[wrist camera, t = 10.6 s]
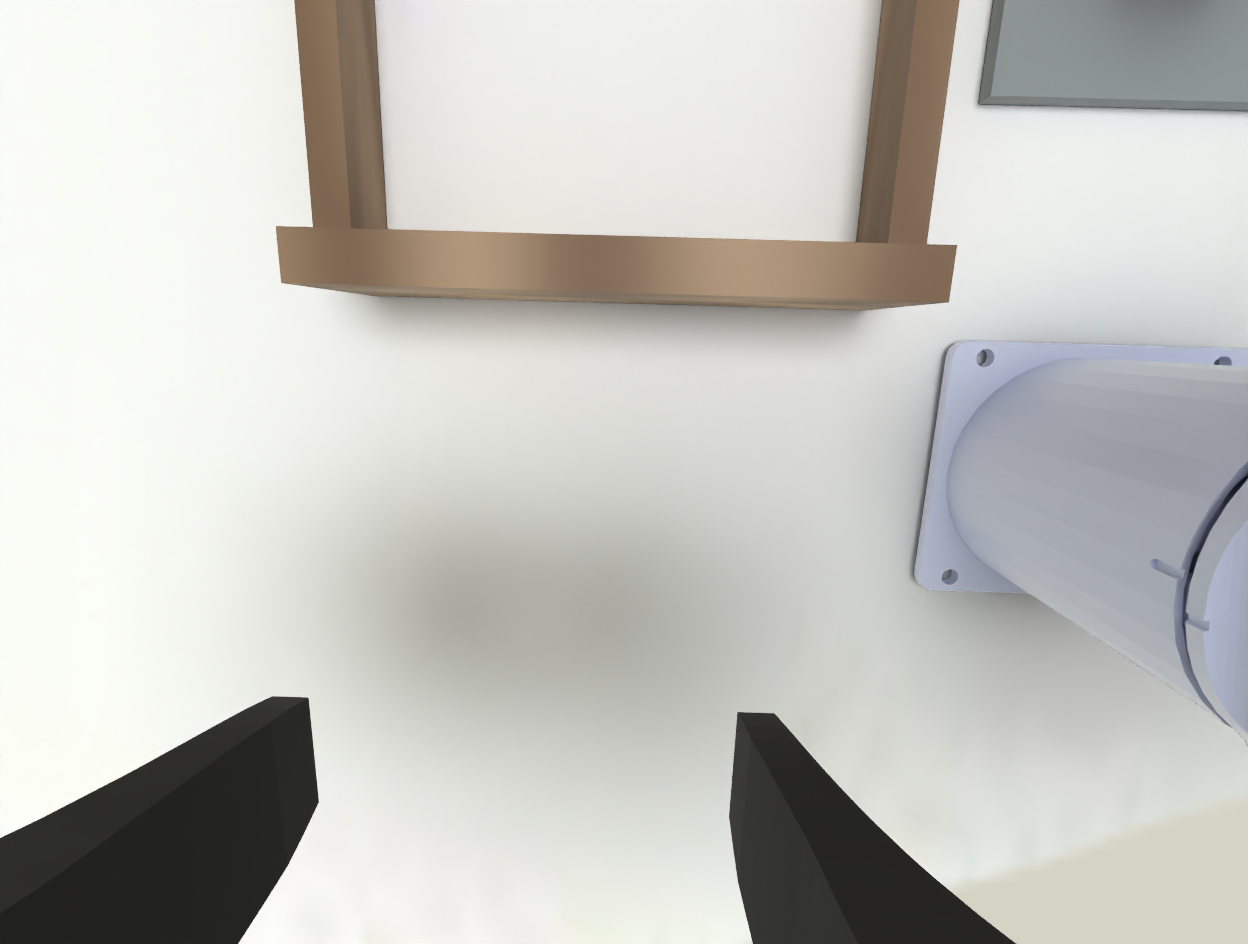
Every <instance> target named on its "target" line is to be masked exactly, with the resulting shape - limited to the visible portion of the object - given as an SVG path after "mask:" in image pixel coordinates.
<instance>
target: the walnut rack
mask: <svg viewBox="0 0 1248 944" xmlns="http://www.w3.org/2000/svg"><path fill="white" fill-rule="evenodd" d="M294 1H295V13H296V25H297V37H298V50H299V62H300V74H301V86H302V98H303V110H304V123H305V135H306V147H307V159H308V171H309V183H310V196H311V208H312V220H313V227H284V226H276V232H277V243H278V253H279V264H280V274H281V283H286V284H293V285H300V286H307V287H314V288H322V289H329V290H336V291H343V292H350V293H357V294H364V295H372V296H394V297H429V298H463V299H497V300H532V301H566V302H600V303H635V304H669V305H703V306H738V307H772V308H806V309H841V310H873V309H883V308H894V307H904V306H914V305H925V304H935V303H945V302H949V297H950V290H951V283H952V276H953V269H954V262H955V255H956V249H957V245H930V244H927V237H928V230H929V222H930V215H931V207H932V200H933V192H934V185H935V178H936V170H937V163H938V155H939V148H940V140H941V133H942V125H943V118H944V111H945V103H946V96H947V88H948V81H949V73H950V66H951V58H952V51H953V44H954V36H955V29H956V21H957V14H958V6H959V0H883V3H882V12H881V21H880V30H879V40H878V49H877V58H876V67H875V76H874V85H873V94H872V104H871V113H870V122H869V131H868V140H867V149H866V158H865V168H864V177H863V186H862V195H861V204H860V213H859V222H858V232H857V241H856V242H822V241H786V240H750V239H715V238H679V237H643V236H607V235H571V234H535V233H499V232H463V231H427V230H391V229H387V221H386V203H385V185H384V167H383V150H382V132H381V114H380V96H379V78H378V61H377V43H376V25H375V7H374V0H294Z"/></svg>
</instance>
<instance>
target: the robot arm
mask: <svg viewBox="0 0 1248 944" xmlns="http://www.w3.org/2000/svg"><path fill="white" fill-rule="evenodd" d="M981 350H984V351H985V352H986V353H987V359H986V361H985V363H983V364H982V365H981V366H979V364H978V363H977V359H976V357H977V355H978V353H979V352H980V351H981ZM1217 359H1219V365H1214V363H1215V361H1216V360H1217ZM951 569H952V574H951V576H950V577H949V578H948V579H945V580H942V575H943V573H944V572H945V571H947V570H951ZM914 576H915V579H916V581H917V582H918V583H919V584H920V585H921V586H922V587H924V588H925V589H928V590H938V591H967V592H996V593H1026V594H1030V595H1032V596H1033V597H1035V598H1036V599H1038V600H1039V601H1041V602H1043V603H1044V604H1046V605H1047V606H1049V607H1050V608H1052V609H1053V610H1055V611H1056V612H1058V613H1059V614H1061V615H1062V616H1064V617H1065V618H1067V619H1068V620H1070V621H1071V622H1073V623H1074V624H1076V625H1077V626H1079V627H1080V628H1082V629H1083V630H1085V631H1086V632H1088V633H1089V634H1091V635H1092V636H1094V637H1095V638H1097V639H1098V640H1100V641H1101V642H1103V643H1104V644H1106V645H1107V646H1109V647H1110V648H1112V649H1113V650H1115V651H1116V652H1118V653H1119V654H1121V655H1122V656H1124V657H1125V658H1127V659H1128V660H1130V661H1131V662H1133V663H1134V664H1136V665H1137V666H1139V667H1140V668H1142V669H1144V670H1145V671H1147V672H1148V673H1150V674H1151V675H1153V676H1154V677H1156V678H1157V679H1159V680H1160V681H1162V682H1163V683H1165V684H1166V685H1168V686H1169V687H1171V688H1172V689H1174V690H1175V691H1177V692H1178V693H1180V694H1181V695H1183V696H1184V697H1186V698H1187V699H1189V700H1190V701H1192V702H1193V703H1195V704H1196V705H1198V706H1199V707H1201V708H1202V709H1204V710H1205V711H1207V712H1208V713H1210V714H1211V715H1213V716H1214V717H1216V718H1217V719H1219V720H1220V721H1222V722H1223V723H1225V724H1227V725H1228V726H1230V727H1232V728H1233V729H1234V730H1235V731H1236V732H1237V733H1238V734H1239V735H1240V736H1241V737H1242V738H1243V739H1244V741H1245V742H1246V744H1247V746H1248V349H1246V348H1212V347H1179V346H1145V345H1111V344H1077V343H1044V342H1010V341H976V340H963V341H958V342H956V343H955V344H953V345H952V346H951V347H950V348H949V350H948V352H947V355H946V359H945V366H944V373H943V380H942V386H941V393H940V400H939V407H938V414H937V420H936V427H935V434H934V441H933V448H932V454H931V461H930V468H929V475H928V482H927V488H926V495H925V502H924V509H923V516H922V522H921V529H920V536H919V543H918V550H917V556H916V563H915V570H914ZM318 803H319V799H318V789H317V779H316V769H315V759H314V749H313V739H312V729H311V719H310V709H309V699H308V698H302V697H273V696H272V697H270V698H268V699H266V700H264V701H262V702H259V703H257V704H255V705H253V706H251V707H249V708H247V709H245V710H243V711H242V712H240V713H238V714H236V715H234V716H232V717H230V718H228V719H227V720H225V721H223V722H221V723H219V724H217V725H216V726H214V727H212V728H210V729H208V730H207V731H205V732H203V733H201V734H199V735H198V736H196V737H194V738H192V739H190V740H188V741H187V742H185V743H183V744H181V745H179V746H178V747H176V748H174V749H172V750H170V751H168V752H167V753H165V754H163V755H161V756H159V757H158V758H156V759H154V760H152V761H150V762H148V763H147V764H145V765H143V766H141V767H139V768H138V769H136V770H134V771H132V772H130V773H128V774H126V775H125V776H123V777H121V778H119V779H117V780H115V781H113V782H111V783H109V784H107V785H105V786H103V787H101V788H99V789H97V790H96V791H94V792H92V793H90V794H88V795H86V796H84V797H82V798H80V799H78V800H76V801H74V802H72V803H70V804H68V805H66V806H65V807H63V808H61V809H59V810H57V811H55V812H53V813H51V814H49V815H47V816H45V817H43V818H41V819H39V820H37V821H35V822H33V823H31V824H29V825H27V826H25V827H23V828H21V829H19V830H16V831H14V832H12V833H10V834H8V835H6V836H4V837H2V838H0V944H238V943H239V941H240V940H241V938H242V937H243V935H244V934H245V932H246V931H247V929H248V928H249V926H250V924H251V923H252V921H253V920H254V918H255V917H256V915H257V914H258V912H259V910H260V909H261V907H262V906H263V904H264V902H265V901H266V899H267V898H268V896H269V895H270V893H271V891H272V890H273V888H274V887H275V885H276V884H277V882H278V880H279V879H280V877H281V876H282V874H283V872H284V871H285V869H286V867H287V866H288V864H289V862H290V860H291V858H292V856H293V854H294V852H295V850H296V848H297V846H298V844H299V842H300V840H301V838H302V836H303V834H304V832H305V830H306V828H307V826H308V824H309V822H310V820H311V817H312V815H313V813H314V811H315V809H316V807H317V805H318ZM729 818H730V826H731V834H732V841H733V849H734V856H735V863H736V870H737V877H738V883H739V887H740V892H741V896H742V900H743V904H744V908H745V912H746V917H747V921H748V925H749V929H750V933H751V937H752V941H753V944H1016V943H1014V942H1013V941H1012V940H1010V939H1009V938H1008V937H1006V936H1005V935H1004V934H1002V933H1001V932H1000V931H999V930H997V929H996V928H995V927H993V926H992V925H991V924H990V923H988V922H987V921H986V920H985V919H983V918H982V917H981V916H979V915H978V914H977V913H976V912H974V911H973V910H972V909H971V908H970V907H968V906H967V905H966V904H965V903H964V902H962V901H961V900H960V899H959V898H958V897H957V896H955V895H954V894H953V893H952V892H951V891H949V890H948V889H947V888H946V887H944V886H943V885H942V884H941V883H940V882H938V881H937V880H936V879H935V878H934V877H932V876H931V875H930V874H929V873H928V872H927V871H926V870H925V869H923V868H922V867H921V866H920V865H919V864H918V863H917V862H916V861H914V860H913V859H912V858H911V857H910V856H909V855H908V854H907V853H906V852H905V851H904V850H903V849H901V848H900V847H899V846H898V845H897V844H896V843H895V842H894V841H893V840H892V839H891V838H890V837H889V836H888V835H887V834H886V833H885V832H884V831H882V830H881V829H880V828H879V827H878V826H877V825H876V824H875V823H874V822H873V821H872V820H871V819H870V818H869V817H868V816H867V815H866V814H865V813H864V812H863V811H862V810H861V809H860V808H859V807H858V806H857V805H856V804H855V803H854V801H853V800H852V799H851V798H850V797H849V796H848V795H847V794H846V793H845V792H844V791H843V790H842V789H841V788H840V787H839V786H838V785H837V784H836V782H835V781H834V780H833V779H832V778H831V777H830V776H829V775H828V774H827V773H826V772H825V770H824V769H823V768H822V767H821V766H820V765H819V764H818V763H817V761H816V760H815V759H814V758H813V757H812V756H811V755H810V754H809V752H808V751H807V750H806V749H805V748H804V747H803V746H802V744H801V743H800V742H799V741H798V740H797V739H796V738H795V736H794V735H793V734H792V733H791V732H790V731H789V729H788V728H787V727H786V726H785V725H784V724H783V723H782V722H781V720H780V719H779V718H778V717H777V716H776V715H775V714H774V713H744V712H738V714H737V727H736V739H735V751H734V764H733V776H732V789H731V801H730V813H729Z"/></svg>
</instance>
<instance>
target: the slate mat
mask: <svg viewBox="0 0 1248 944" xmlns="http://www.w3.org/2000/svg"><path fill="white" fill-rule="evenodd" d="M979 104H1005V105H1045V106H1085V107H1125V108H1164V109H1204V110H1244V111H1248V0H994V1H993V8H992V15H991V22H990V29H989V35H988V42H987V49H986V56H985V63H984V70H983V77H982V84H981V90H980V97H979Z"/></svg>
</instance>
